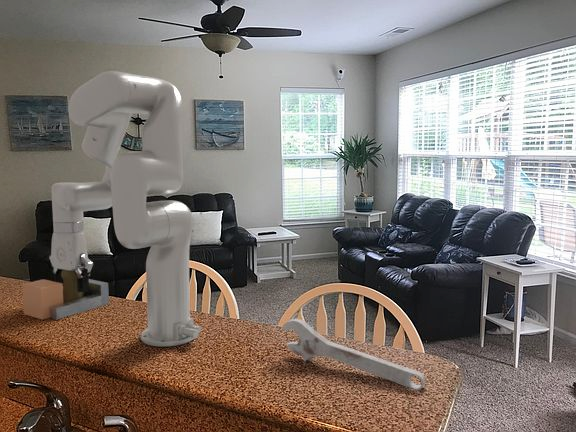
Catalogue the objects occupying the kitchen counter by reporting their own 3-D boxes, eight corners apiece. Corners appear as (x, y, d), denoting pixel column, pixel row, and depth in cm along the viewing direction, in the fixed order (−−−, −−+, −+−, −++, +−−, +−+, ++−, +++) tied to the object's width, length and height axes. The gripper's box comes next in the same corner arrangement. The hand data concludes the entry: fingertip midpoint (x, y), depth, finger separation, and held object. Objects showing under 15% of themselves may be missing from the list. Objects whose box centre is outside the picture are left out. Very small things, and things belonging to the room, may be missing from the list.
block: (63, 313, 126) (62, 283, 125) (42, 319, 121) (40, 288, 120) (45, 307, 130) (43, 279, 129) (23, 313, 125) (21, 284, 124)
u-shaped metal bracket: (108, 303, 135) (108, 282, 134) (56, 320, 121) (55, 297, 120) (77, 296, 142) (76, 276, 141) (24, 310, 128) (23, 289, 127)
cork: (65, 310, 128) (63, 270, 127) (58, 305, 133) (55, 267, 131) (88, 305, 132) (86, 267, 131) (80, 301, 137) (78, 263, 135)
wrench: (419, 406, 86) (279, 352, 101) (422, 401, 88) (283, 349, 102) (426, 365, 85) (283, 317, 99) (429, 361, 86) (287, 314, 101)
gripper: (36, 227, 131) (40, 287, 133) (76, 232, 122) (80, 296, 124) (61, 223, 137) (64, 281, 139) (101, 228, 129) (104, 290, 131)
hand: (72, 288), depth 132 cm, fingers open, 9 cm apart
